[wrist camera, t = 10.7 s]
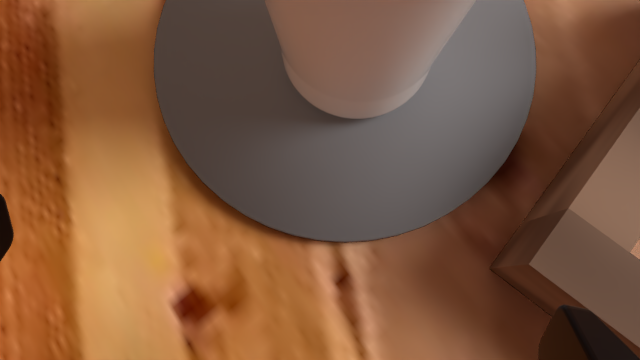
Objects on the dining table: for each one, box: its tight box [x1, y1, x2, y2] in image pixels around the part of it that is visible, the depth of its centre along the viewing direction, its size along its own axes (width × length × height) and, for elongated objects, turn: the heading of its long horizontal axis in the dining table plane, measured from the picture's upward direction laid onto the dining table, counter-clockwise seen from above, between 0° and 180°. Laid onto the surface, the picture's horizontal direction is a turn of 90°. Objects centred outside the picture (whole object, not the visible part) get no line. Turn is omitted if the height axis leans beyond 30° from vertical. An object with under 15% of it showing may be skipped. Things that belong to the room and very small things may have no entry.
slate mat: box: [154, 0, 536, 242], centre depth 19 cm, size 14×14×1 cm
